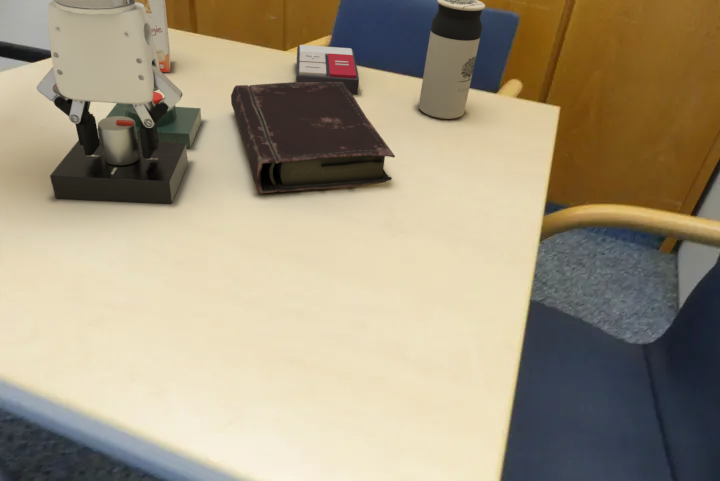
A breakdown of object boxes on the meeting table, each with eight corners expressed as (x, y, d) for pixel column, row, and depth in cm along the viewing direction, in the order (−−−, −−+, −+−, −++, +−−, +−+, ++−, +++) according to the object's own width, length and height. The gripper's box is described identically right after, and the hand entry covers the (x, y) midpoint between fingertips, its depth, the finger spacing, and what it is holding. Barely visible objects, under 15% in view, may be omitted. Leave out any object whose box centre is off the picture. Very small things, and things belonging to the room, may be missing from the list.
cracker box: (86, 73, 96) (59, -64, 84) (90, 61, 100) (66, -70, 88) (171, 73, 99) (157, -58, 87) (172, 62, 104) (159, -64, 92)
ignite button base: (100, 143, 75) (94, 115, 73) (119, 116, 83) (114, 90, 80) (190, 148, 77) (188, 121, 74) (201, 121, 84) (199, 96, 82)
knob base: (55, 198, 64) (49, 174, 62) (85, 158, 72) (80, 136, 70) (171, 203, 65) (169, 180, 63) (188, 163, 73) (185, 141, 71)
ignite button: (133, 112, 76) (131, 100, 75) (140, 102, 79) (138, 90, 78) (160, 114, 76) (159, 101, 75) (166, 104, 79) (165, 92, 78)
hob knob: (99, 164, 65) (92, 126, 62) (110, 149, 68) (103, 112, 65) (135, 166, 65) (129, 128, 62) (143, 151, 68) (138, 114, 66)
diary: (254, 196, 68) (254, 159, 65) (231, 114, 87) (230, 83, 84) (396, 185, 74) (401, 151, 71) (345, 110, 93) (347, 81, 90)
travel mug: (408, 106, 97) (425, -4, 86) (441, 99, 101) (460, -6, 91) (440, 123, 92) (462, 9, 82) (473, 115, 96) (497, 6, 86)
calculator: (296, 71, 95) (297, 41, 107) (295, 95, 98) (296, 63, 110) (359, 75, 97) (354, 45, 108) (357, 98, 99) (352, 66, 111)
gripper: (188, -11, 60) (200, 142, 70) (19, -25, 58) (57, 134, 68) (174, 6, 54) (189, 171, 64) (-16, -9, 52) (32, 163, 62)
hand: (121, 151), depth 66 cm, fingers open, 5 cm apart
